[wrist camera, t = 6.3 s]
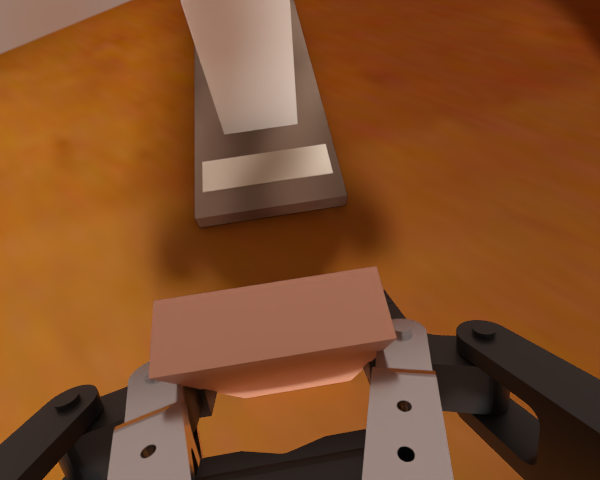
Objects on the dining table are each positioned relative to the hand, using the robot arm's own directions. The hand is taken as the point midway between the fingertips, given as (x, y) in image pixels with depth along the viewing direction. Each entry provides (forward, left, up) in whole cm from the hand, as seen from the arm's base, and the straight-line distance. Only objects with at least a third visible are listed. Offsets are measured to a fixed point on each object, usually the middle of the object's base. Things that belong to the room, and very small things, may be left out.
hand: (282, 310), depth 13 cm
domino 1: (0, +14, -3) cm, 15 cm away
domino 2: (0, -2, -4) cm, 5 cm away
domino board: (0, +18, -4) cm, 19 cm away
